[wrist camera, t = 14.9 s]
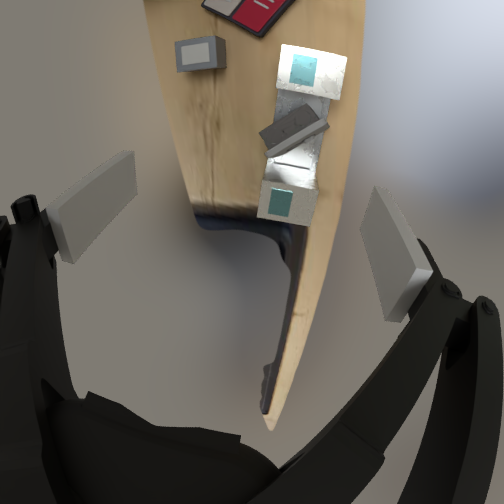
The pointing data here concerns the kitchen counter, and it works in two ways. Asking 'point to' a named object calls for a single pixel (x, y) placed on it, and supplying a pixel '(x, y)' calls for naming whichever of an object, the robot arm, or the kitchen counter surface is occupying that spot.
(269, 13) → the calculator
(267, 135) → the electrical switch
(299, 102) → the grey u-shaped block
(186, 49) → the block
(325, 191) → the kitchen counter surface
